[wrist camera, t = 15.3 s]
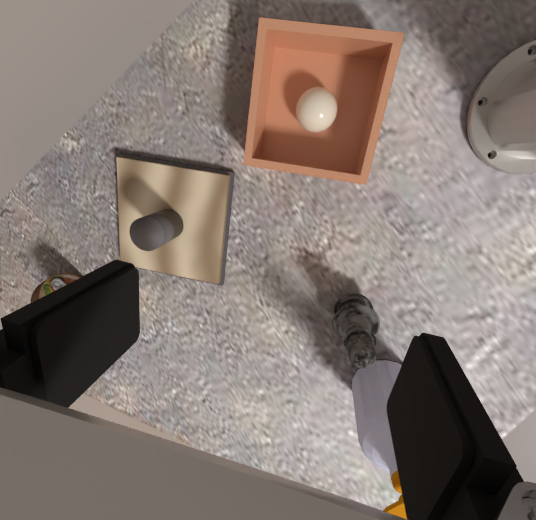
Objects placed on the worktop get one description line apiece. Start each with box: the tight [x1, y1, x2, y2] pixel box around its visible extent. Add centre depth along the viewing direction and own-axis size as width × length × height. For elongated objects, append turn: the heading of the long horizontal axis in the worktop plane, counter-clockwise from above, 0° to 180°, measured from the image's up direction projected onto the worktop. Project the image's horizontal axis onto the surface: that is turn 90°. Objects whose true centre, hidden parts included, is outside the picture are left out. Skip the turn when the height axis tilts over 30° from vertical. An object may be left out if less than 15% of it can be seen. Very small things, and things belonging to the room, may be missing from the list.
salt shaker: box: [333, 294, 380, 368], centre depth 37 cm, size 6×6×12 cm
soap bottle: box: [352, 360, 407, 519], centre depth 34 cm, size 9×9×25 cm
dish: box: [243, 17, 405, 185], centre depth 32 cm, size 13×13×6 cm
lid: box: [116, 157, 230, 284], centre depth 38 cm, size 15×15×7 cm
